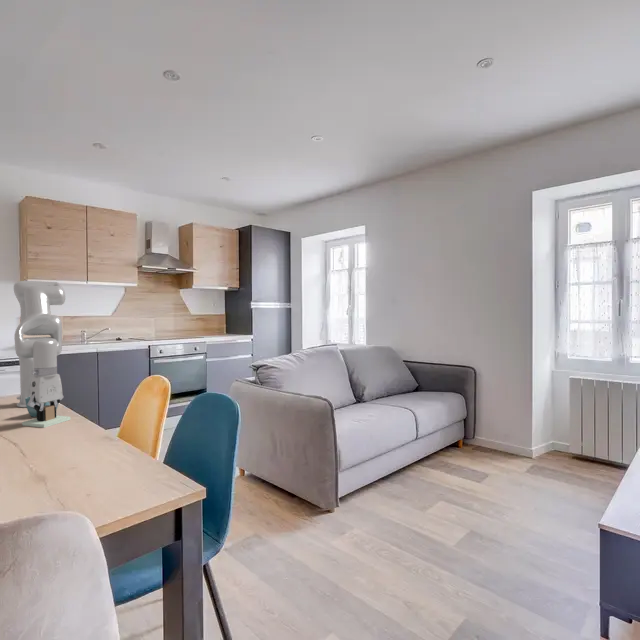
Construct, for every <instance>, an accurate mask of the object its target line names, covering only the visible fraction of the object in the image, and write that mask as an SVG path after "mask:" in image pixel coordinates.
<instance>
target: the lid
mask: <svg viewBox="0 0 640 640" xmlns="http://www.w3.org/2000/svg"><path fill="white" fill-rule="evenodd" d="M43 410H44V411H45V420H44V421H37V417H36V418H33V419H29V420H26V421H22V422H21V425H23V426H24V427H32V426H33V427H32V428H42V427H43V428H44V429H45V428H48V427H51V425H52V426H55V425H58V424H62V423H65V422H67V421H71V419H72V418H71V416H67V415H57V414H56V418H55V412H54V406H51V405H46V406H43ZM61 422H62V423H61ZM23 426H22V427H23ZM43 428H42V429H43Z"/></svg>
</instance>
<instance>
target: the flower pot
mask: <svg viewBox="0 0 640 640" xmlns="http://www.w3.org/2000/svg"><path fill="white" fill-rule="evenodd" d="M29 400H30V397H27V398H25V401H26V406H27V407H26V410H27V412H28V414H29V416H31V418H32V417H33V418H34V417H36V418H37V411H35V409H34V408H32V407H30V406H28V405H27V404H28V402H29ZM34 404H36V402H35V403H34ZM46 405H50V404H49V402H46V403H44V406H46ZM39 406H40V404H39ZM58 407H59V405H58V406H57V407H56V410H57V409H58Z"/></svg>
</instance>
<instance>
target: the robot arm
mask: <svg viewBox="0 0 640 640" xmlns="http://www.w3.org/2000/svg"><path fill="white" fill-rule="evenodd" d="M13 293H14V296H15V298H16V299H17V301H18V303H19V306H20V307H19V308H20V322H19V324H18V326H17V327H16V329H15V332H14V336H13V337H14V351H15V354H16V356H17V357H18V361H19V379H20V380H19V381H20V384H19V385H20V387H19V388H20V394H19V396H17V397H16V400H18V401H19V402H17V403H16V407H18V408H27V406H26V401H25V398H27V397H30V400H29V402H28V404H27V405H28V406H30V407H32V408H34V409H35V411H37V417H36V418H37V421H44V420H45V411H44V410H43V406H44V403H46V402H49V404H50V405H51V406H54V412H55V418H56V415H57V409H56V407H57V406H58V407H59V403H60V402H61V401H62V400H63V399H64V395H63V386H62V379H61V375H60V373H58V356H59V355H60V354H61V353H62V348H63V324H62V323H63V322H62V319H61V317H60V316H58V315H56V314H51V313H52V312H51V306H62V305H64V304H65V302H66V293H65V290H64V288H63V286H62V285H61V284H60V283H59V282H57V281H41V280H21V281H17V282H15V283H14V284H13ZM24 335H25V336H33V337H24ZM34 336H36V337H34ZM38 336H39V337H38ZM35 402H36V404H34V403H35ZM39 404H40V406H39ZM58 407H57V408H58Z"/></svg>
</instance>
